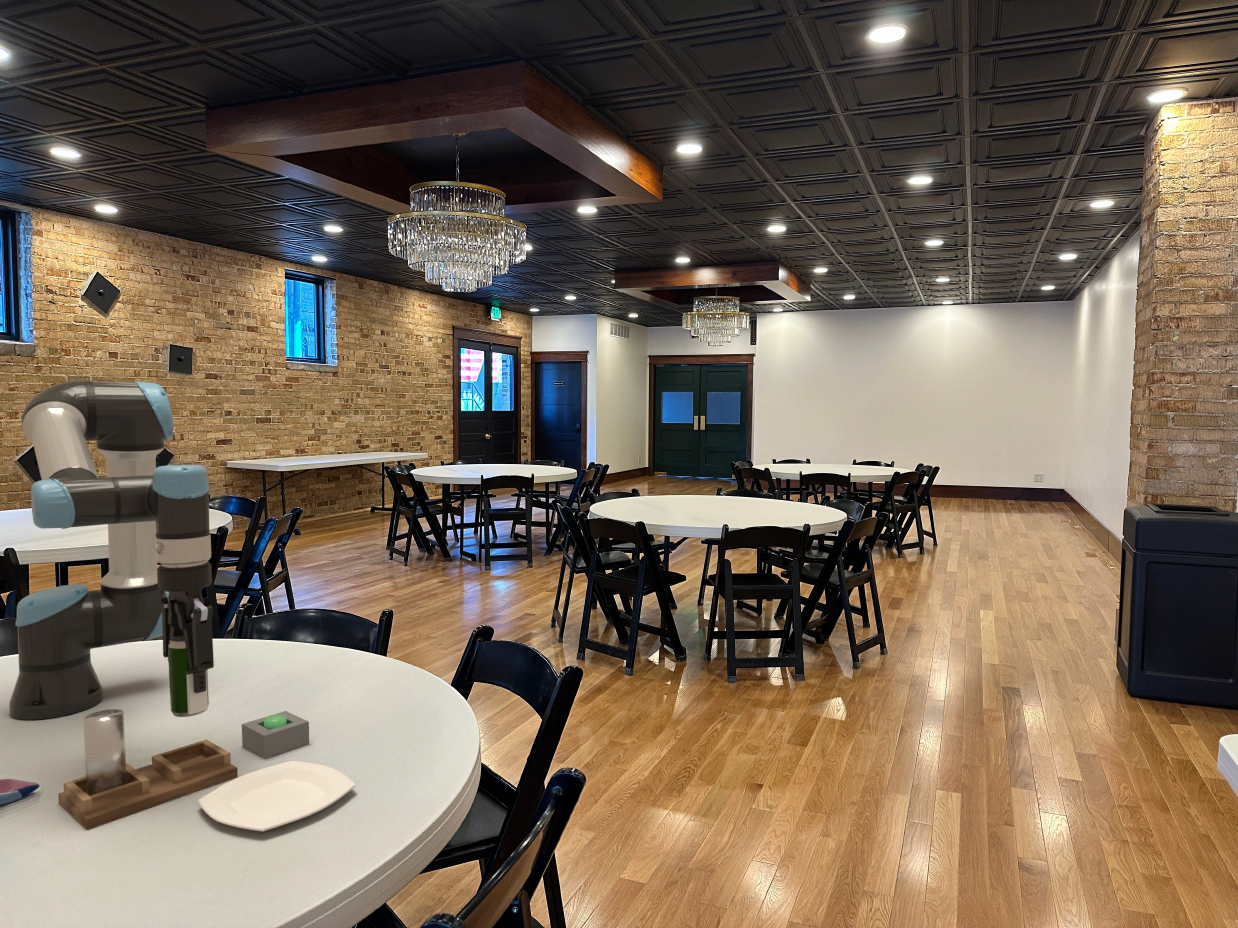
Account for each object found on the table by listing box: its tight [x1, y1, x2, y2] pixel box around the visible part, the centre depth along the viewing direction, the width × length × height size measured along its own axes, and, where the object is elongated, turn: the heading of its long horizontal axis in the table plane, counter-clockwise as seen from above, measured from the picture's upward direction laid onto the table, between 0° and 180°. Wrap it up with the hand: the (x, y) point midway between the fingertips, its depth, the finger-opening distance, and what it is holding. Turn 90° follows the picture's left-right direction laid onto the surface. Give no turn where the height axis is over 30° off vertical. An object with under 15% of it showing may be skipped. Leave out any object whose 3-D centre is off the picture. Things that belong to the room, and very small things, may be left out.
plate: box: [197, 760, 357, 832], centre depth 119 cm, size 19×19×2 cm
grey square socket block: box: [241, 710, 310, 760], centre depth 140 cm, size 8×8×4 cm
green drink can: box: [167, 635, 210, 718], centre depth 127 cm, size 5×5×12 cm
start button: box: [264, 713, 287, 730], centre depth 139 cm, size 4×4×3 cm
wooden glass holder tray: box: [57, 739, 239, 831], centre depth 123 cm, size 12×21×4 cm, turn 141°
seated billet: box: [82, 708, 127, 796], centre depth 118 cm, size 5×5×12 cm
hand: (189, 706), depth 127 cm, fingers closed on green drink can, 5 cm apart
